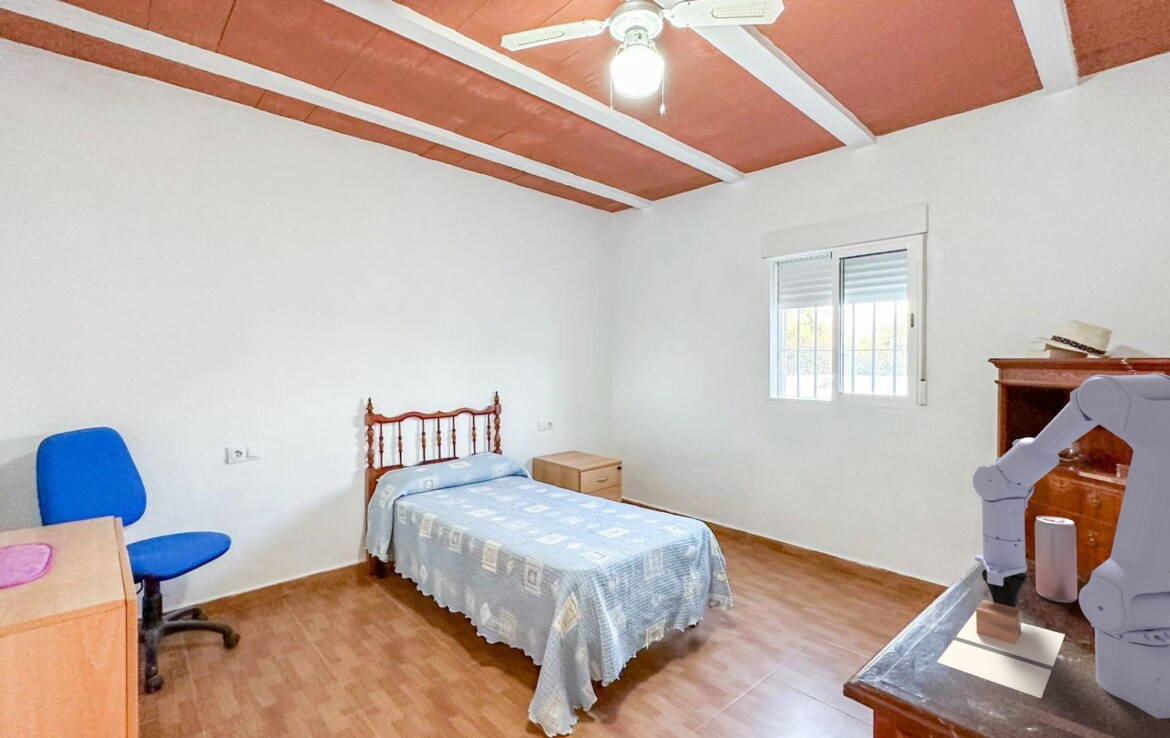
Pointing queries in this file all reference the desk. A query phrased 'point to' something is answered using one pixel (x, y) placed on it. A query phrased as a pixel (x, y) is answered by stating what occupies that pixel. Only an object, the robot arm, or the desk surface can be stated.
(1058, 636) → the board
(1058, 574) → the beverage can
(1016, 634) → the block
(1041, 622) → the desk surface
